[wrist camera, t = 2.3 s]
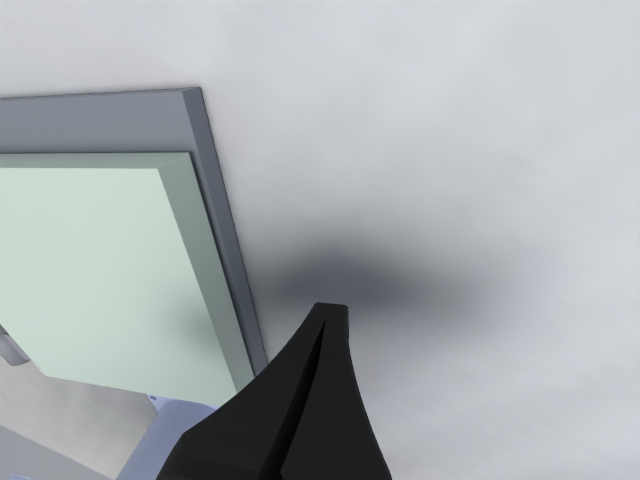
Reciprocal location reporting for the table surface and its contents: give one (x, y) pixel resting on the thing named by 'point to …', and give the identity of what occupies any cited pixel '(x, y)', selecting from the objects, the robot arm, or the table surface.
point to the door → (116, 276)
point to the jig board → (141, 137)
